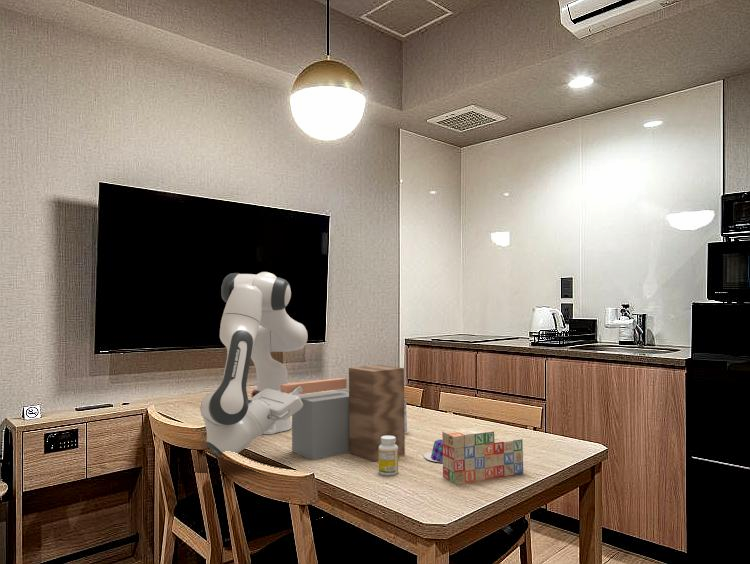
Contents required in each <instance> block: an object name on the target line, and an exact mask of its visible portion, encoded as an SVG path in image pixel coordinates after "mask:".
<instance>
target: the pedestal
mask: <svg viewBox="0 0 750 564" xmlns="http://www.w3.org/2000/svg"><path fill="white" fill-rule="evenodd" d="M298 396H299V397H300V399H301V401H302V403H303V407H302V408H301V409H300V410H299V411H298V412H296V413H295V414H293V415H292V416H291V424H292V428H291V451H292V453H295V454H297V455H299V456H302V457H305V458H307V459H310V460H312V461H314V460H319V458H320V459H323V458H324V459H325V458H328V457H334V456H337V454H338V455H342V453H343V454H347V452H348V453H349V391H345V390H342V389H337V390H329V391H321V392H314V393H306V394H299V395H298ZM333 455H334V456H333Z"/></svg>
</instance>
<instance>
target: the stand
mask: <svg viewBox="0 0 750 564" xmlns="http://www.w3.org/2000/svg"><path fill="white" fill-rule="evenodd" d="M348 392H349V452H348V453H349V454H350V455H353V456H356V457H359V458H361V459H365V460H367V461H370V462H373V463H375V462H379V446H380V445H381V444H382V443H381V437H382V436H394V437H396V442H395V444H396V445H397V446H398V457H401V456H405V454H406V451H405V449H406V448H405V447H406V445H405V444H406V443H405V438H406V437H405V435H406V434H405V424H404V398H405V368H404V367H397V366H391V365H381V364H375V365H374V364H373V365H365V366H364V365H363V366H356V367H355V366H354V367H348Z"/></svg>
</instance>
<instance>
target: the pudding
mask: <svg viewBox="0 0 750 564" xmlns="http://www.w3.org/2000/svg"><path fill="white" fill-rule="evenodd" d="M442 443H443V438H441V439H440V438H439V439H436V440H434V442H433V447H432V451H429V452H426V453H425V454H424V459H426V460H428V461H431V462H437V463H443V454H442Z"/></svg>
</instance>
